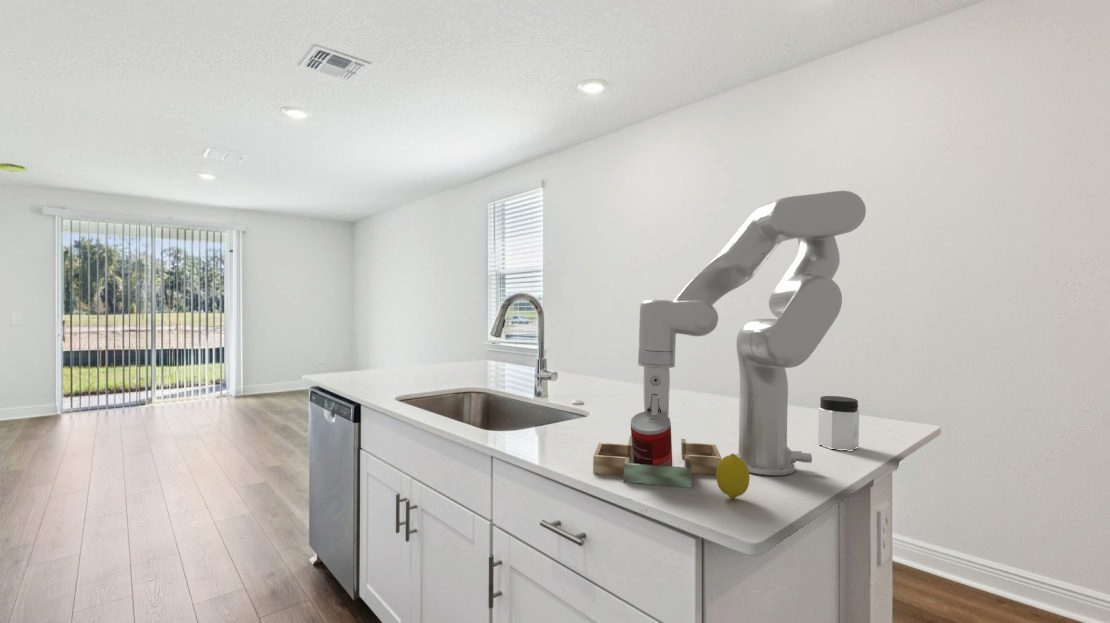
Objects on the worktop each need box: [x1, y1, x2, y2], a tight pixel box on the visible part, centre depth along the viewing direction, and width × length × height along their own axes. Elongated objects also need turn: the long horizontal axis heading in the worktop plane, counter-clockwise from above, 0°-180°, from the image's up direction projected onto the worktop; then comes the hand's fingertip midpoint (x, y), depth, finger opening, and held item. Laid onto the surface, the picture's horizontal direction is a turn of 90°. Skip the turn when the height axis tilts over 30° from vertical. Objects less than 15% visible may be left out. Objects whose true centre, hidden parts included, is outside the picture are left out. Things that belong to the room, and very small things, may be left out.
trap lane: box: [592, 435, 722, 489], centre depth 108 cm, size 25×23×4 cm
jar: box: [817, 395, 860, 451], centre depth 126 cm, size 9×8×12 cm
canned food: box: [630, 411, 673, 466], centre depth 101 cm, size 8×8×11 cm
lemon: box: [715, 453, 750, 500], centre depth 90 cm, size 6×6×8 cm
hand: (653, 446), depth 106 cm, fingers closed
